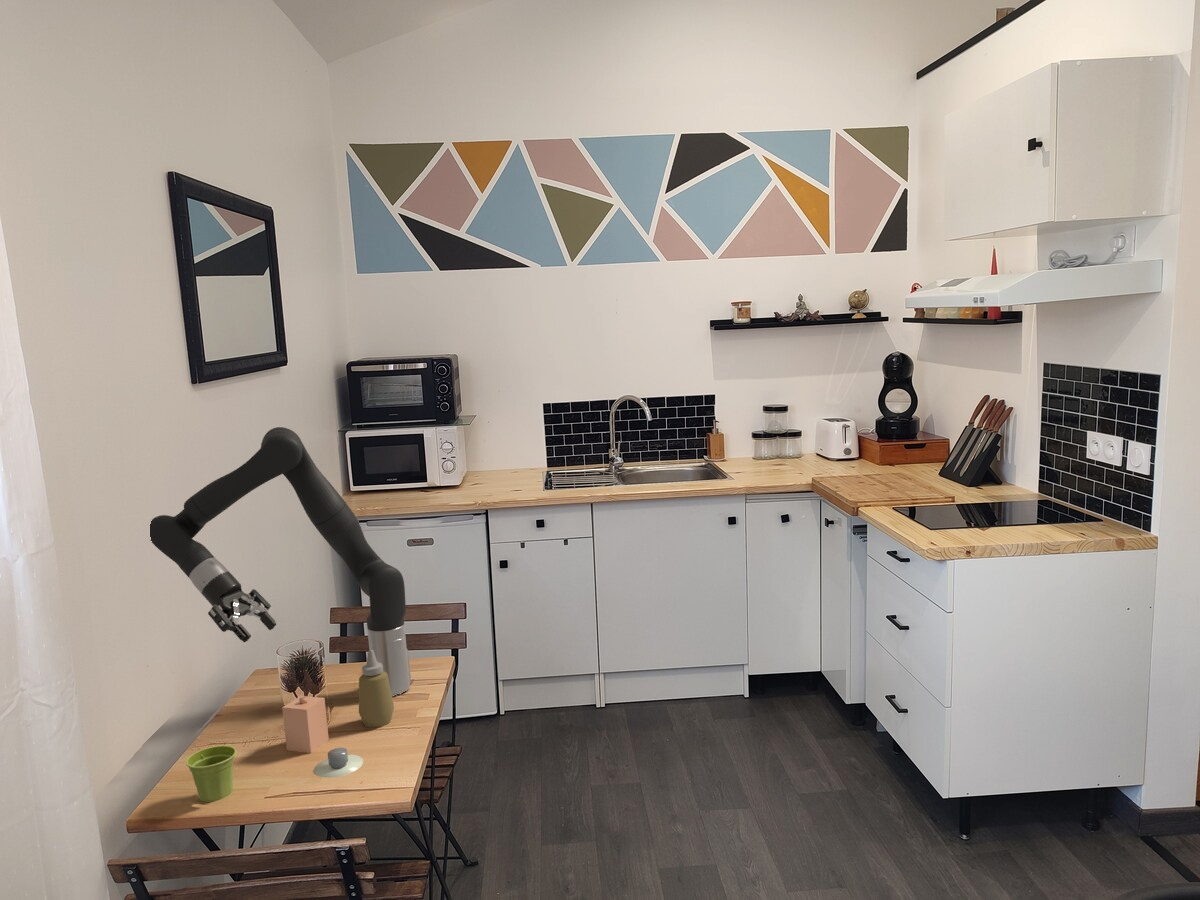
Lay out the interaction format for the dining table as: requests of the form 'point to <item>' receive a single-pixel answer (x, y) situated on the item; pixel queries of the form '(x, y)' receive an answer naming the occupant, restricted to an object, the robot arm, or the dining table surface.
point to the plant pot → (213, 772)
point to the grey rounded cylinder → (338, 758)
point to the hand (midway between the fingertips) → (261, 633)
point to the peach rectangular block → (305, 724)
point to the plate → (352, 765)
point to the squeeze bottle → (374, 694)
